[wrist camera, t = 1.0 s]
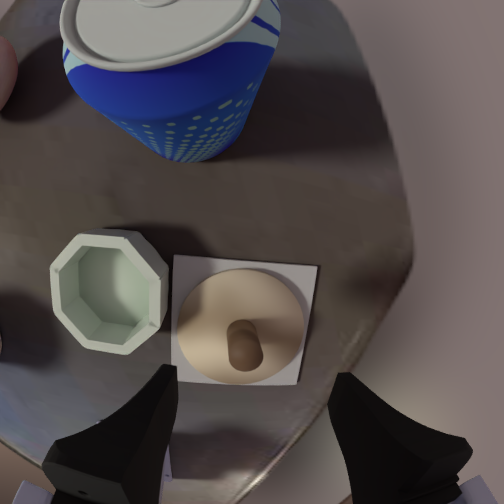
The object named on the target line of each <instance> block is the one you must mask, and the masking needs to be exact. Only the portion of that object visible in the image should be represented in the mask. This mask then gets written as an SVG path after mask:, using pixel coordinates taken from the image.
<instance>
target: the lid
mask: <svg viewBox="0 0 504 504" xmlns="http://www.w3.org/2000/svg"><path fill="white" fill-rule="evenodd" d="M303 333H304V318H303V313H302V310H301V307H300V305H299V303H298V301H297V299H296V297H295V296H294V295H293V293H292V292H291V291H290V289H289V288H288V287H287V286H286V285H285V284H284V283H282V282H281V281H280V280H279V279H277V278H275V277H274V276H272V275H270V274H268V273H265V272H263V271H259V270H255V269H248V268H236V269H228V270H224V271H220V272H218V273H215V274H213V275H211V276H209V277H207V278H205V279H204V280H203V281H201V282H200V283H198V284H197V285H196V286H195V287H194V288H193V289H192V290H191V292H190V293H189V294H188V296H187V297H186V299H185V301H184V302H183V305H182V307H181V310H180V313H179V317H178V322H177V336H178V341H179V345H180V347H181V350H182V352H183V354H184V356H185V357H186V359H187V360H188V361H189V363H190V364H191V365H192V366H193V367H194V368H195V369H196V370H198V371H199V372H200V373H202V374H203V375H205V376H206V377H208V378H211V379H213V380H215V381H218V382H222V383H227V384H236V385H239V384H251V383H255V382H259V381H262V380H265V379H267V378H269V377H271V376H273V375H275V374H276V373H278V372H279V371H281V370H282V369H283V368H284V367H286V365H287V364H288V363H289V362H290V361H291V360H292V359H293V357H294V356H295V354H296V353H297V351H298V349H299V347H300V344H301V342H302V338H303Z"/></svg>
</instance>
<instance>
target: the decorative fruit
mask: <svg viewBox="0 0 504 504" xmlns="http://www.w3.org/2000/svg"><path fill="white" fill-rule="evenodd" d="M17 74H18V62H17V57H16V53H15V51H14V48H13V47H12V45H11V44H10V42H9V41H8V40H7V39H5V38H4V37H2V36H0V111H1V109H2V108H3V107H4V105H5V104H6V102H7V100H8V99H9V97H10V95H11V93H12V90H13V88H14V85H15V82H16V79H17Z"/></svg>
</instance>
